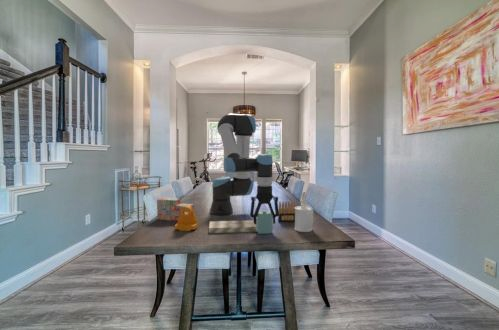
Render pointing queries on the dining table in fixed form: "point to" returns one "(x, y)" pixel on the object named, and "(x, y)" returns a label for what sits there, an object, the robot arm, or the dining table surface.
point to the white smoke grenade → (303, 216)
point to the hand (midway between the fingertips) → (264, 230)
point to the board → (232, 226)
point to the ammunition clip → (286, 216)
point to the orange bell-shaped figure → (187, 219)
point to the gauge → (264, 222)
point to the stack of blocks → (170, 208)
